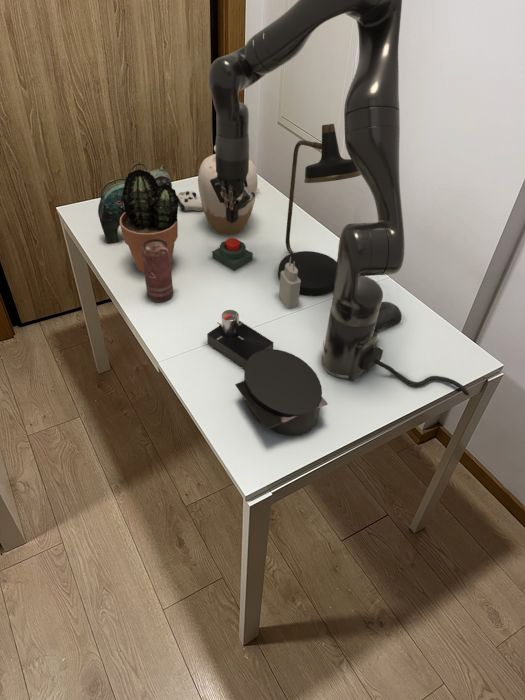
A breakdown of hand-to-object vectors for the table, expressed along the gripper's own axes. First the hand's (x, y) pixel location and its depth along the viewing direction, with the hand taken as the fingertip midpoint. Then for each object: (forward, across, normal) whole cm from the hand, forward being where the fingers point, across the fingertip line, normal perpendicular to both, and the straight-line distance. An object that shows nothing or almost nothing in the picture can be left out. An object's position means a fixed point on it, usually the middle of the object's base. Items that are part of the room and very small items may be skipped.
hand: (231, 221), depth 131 cm
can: (+12, +2, +23) cm, 26 cm away
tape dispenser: (+12, -40, +29) cm, 51 cm away
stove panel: (+12, -24, +23) cm, 35 cm away
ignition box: (+11, 0, 0) cm, 11 cm away
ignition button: (+8, 0, 0) cm, 8 cm away
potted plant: (+12, +13, +16) cm, 23 cm away
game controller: (+11, +28, -12) cm, 33 cm away
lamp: (+12, -18, -9) cm, 23 cm away
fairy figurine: (+11, +23, -28) cm, 38 cm away
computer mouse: (+12, -42, -5) cm, 43 cm away
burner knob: (+9, -21, +23) cm, 32 cm away
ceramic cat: (+12, +26, +9) cm, 30 cm away
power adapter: (+12, -21, +3) cm, 25 cm away
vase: (+12, +12, -12) cm, 21 cm away
